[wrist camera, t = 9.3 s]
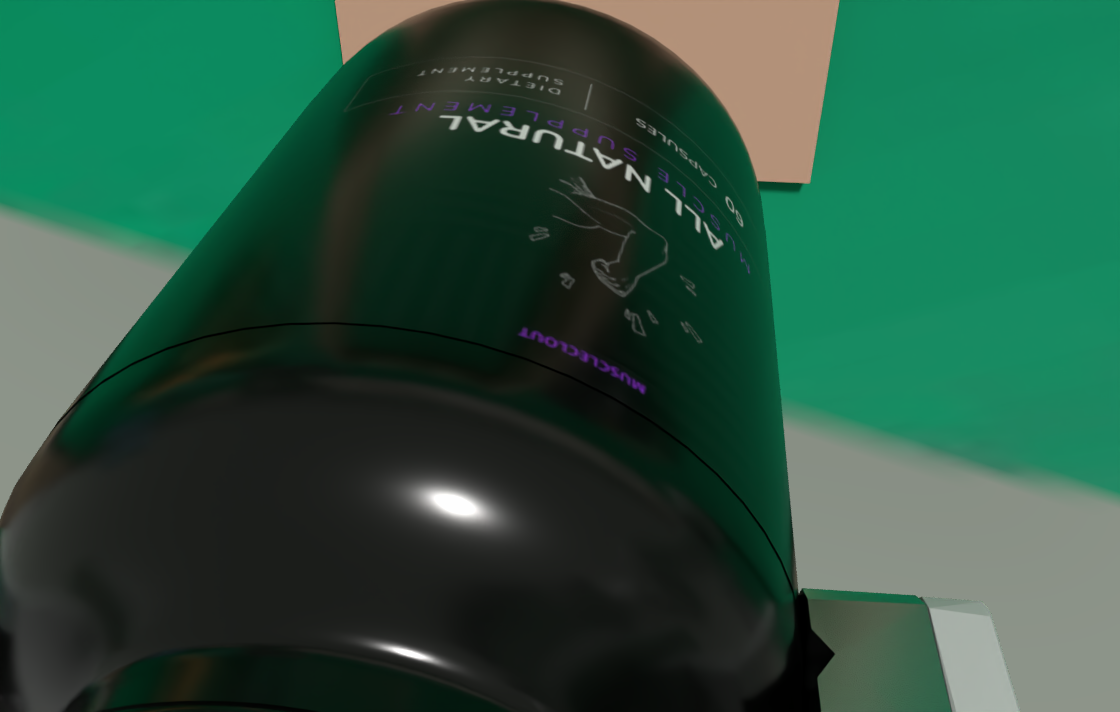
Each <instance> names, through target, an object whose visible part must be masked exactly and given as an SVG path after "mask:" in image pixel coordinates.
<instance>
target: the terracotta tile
mask: <svg viewBox="0 0 1120 712" xmlns="http://www.w3.org/2000/svg"><path fill="white" fill-rule="evenodd" d="M459 1H464V0H335V4H336V12H337V20H338V27H339V35H340V42H341V50H342V58H343V65H344V64H345V63H346V62H347V61H348V60H349V59H350V58H351V57H353V56H354V55H355V54H356V53H357V52H358V51H359V50H361V49H362V48H363V47H364V46H365V45H366V44H368V43H369V42H370V41H372V40H373V39H374V38H376V37H377V36H379V35H380V34H382V33H383V32H385V31H386V30H387V29H389V28H391V27H393V26H395V25H397V24H398V23H400V22H402V21H404V20H406V19H408V18H410V17H412V16H415V15H417V14H420V13H422V12H425V11H427V10H430V9H433V8H436V7H440V6H443V5H447V4H450V3H454V2H459ZM560 1H564V2H569V3H573V4H577V5H581V6H585V7H588V8H591V9H594V10H597V11H600V12H603V13H606V14H608V15H611V16H613V17H615V18H617V19H619V20H622V21H624V22H626V23H628V24H630V25H632V26H634V27H636V28H638V29H639V30H641V31H643V32H644V33H646V34H648V35H650V36H651V37H653V38H654V39H656V40H657V41H659V42H660V43H661V44H663V45H664V46H666V47H667V48H668V49H670V50H671V51H673V52H674V53H675V54H676V55H677V56H679V57H680V58H681V59H682V60H683V61H684V62H685V63H687V64H688V65H689V66H690V67H691V68H692V69H693V70H694V71H695V72H696V73H697V74H698V75H699V76H700V77H701V78H702V79H703V80H704V81H705V82H706V83H707V85H708V86H709V87H710V88H711V89H712V90H713V92H714V93H715V94H716V96H717V97H718V98H719V100H720V101H721V102H722V104H723V105H724V106H725V108H726V109H727V111H728V113H729V114H730V116H731V118H732V119H733V121H734V123H735V124H736V126H737V128H738V130H739V132H740V134H741V136H742V139H743V141H744V143H745V145H746V147H747V150H748V153H749V156H750V158H751V161H752V164H753V167H754V170H755V174H756V177H757V181H768V182H790V183H810V179H811V173H812V166H813V160H814V154H815V148H816V142H817V136H818V129H819V123H820V117H821V111H822V105H823V98H824V92H825V86H826V80H827V74H828V68H829V61H830V55H831V49H832V43H833V37H834V31H835V24H836V18H837V12H838V6H839V0H560Z"/></svg>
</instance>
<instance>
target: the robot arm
mask: <svg viewBox="0 0 1120 712" xmlns="http://www.w3.org/2000/svg"><path fill="white" fill-rule="evenodd" d="M799 605H800V614H799V617H800V616H801V622H800V630H801V628H802V632H801V643H802V641H803V645H802V657H803V695H802V712H1021V711H1020V708H1019V704H1018V701H1017V698H1016V694H1015V691H1014V688H1013V684H1012V681H1011V678H1010V675H1009V671H1008V668H1007V665H1006V662H1005V658H1004V655H1003V651H1002V648H1001V645H1000V641H999V638H998V635H997V632H996V628H995V625H994V622H993V619H992V616H991V612H990V611H989V609H988V608H987V607H986V606H985V605H984V603H983V602H982V601H971V600H957V599H943V598H930V597H920V598H918V597H917V596H915V595H899V594H884V593H868V592H852V591H837V590H821V589H820V590H819V589H805V588H803V589H802V590H801V591H800V593H799ZM0 712H8V710H7V707H6V705H5V702H4V699H3V697H2V694H1V692H0Z"/></svg>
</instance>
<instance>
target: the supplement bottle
mask: <svg viewBox="0 0 1120 712" xmlns="http://www.w3.org/2000/svg"><path fill="white" fill-rule="evenodd" d="M799 614H800V605H799V593H798V582H797V571H796V561H795V549H794V538H793V528H792V516H791V505H790V494H789V483H788V472H787V461H786V451H785V439H784V428H783V417H782V406H781V395H780V384H779V373H778V362H777V351H776V340H775V329H774V318H773V307H772V296H771V285H770V274H769V263H768V252H767V242H766V232H765V226H764V218H763V209H762V201H761V196H760V191H759V187H758V182H757V177H756V174H755V170H754V167H753V164H752V161H751V158H750V156H749V153H748V150H747V147H746V145H745V143H744V141H743V139H742V136H741V134H740V132H739V130H738V128H737V126H736V124H735V123H734V121H733V119H732V118H731V116H730V114H729V113H728V111H727V109H726V108H725V106H724V105H723V104H722V102H721V101H720V100H719V98H718V97H717V96H716V94H715V93H714V92H713V90H712V89H711V88H710V87H709V86H708V85H707V83H706V82H705V81H704V80H703V79H702V78H701V77H700V76H699V75H698V74H697V73H696V72H695V71H694V70H693V69H692V68H691V67H690V66H689V65H688V64H687V63H685V62H684V61H683V60H682V59H681V58H680V57H679V56H677V55H676V54H675V53H674V52H673V51H671V50H670V49H668V48H667V47H666V46H664V45H663V44H661V43H660V42H659V41H657V40H656V39H654V38H653V37H651V36H650V35H648V34H646V33H644V32H643V31H641V30H639V29H638V28H636V27H634V26H632V25H630V24H628V23H626V22H624V21H622V20H619V19H617V18H615V17H613V16H611V15H608V14H606V13H603V12H600V11H597V10H594V9H591V8H588V7H585V6H581V5H577V4H573V3H569V2H564V1H560V0H464V1H459V2H454V3H450V4H447V5H443V6H440V7H436V8H433V9H430V10H427V11H425V12H422V13H420V14H417V15H415V16H412V17H410V18H408V19H406V20H404V21H402V22H400V23H398V24H397V25H395V26H393V27H391V28H389V29H387V30H386V31H385V32H383V33H382V34H380V35H379V36H377V37H376V38H374V39H373V40H372V41H370V42H369V43H368V44H366V45H365V46H364V47H363V48H362V49H361V50H359V51H358V52H357V53H356V54H355V55H354V56H353V57H351V58H350V59H349V60H348V61H347V62H346V63H345V64H344V65H343V66H342V67H341V68H340V69H339V70H338V72H337V73H336V74H335V75H334V76H333V77H332V78H331V79H330V81H329V82H328V83H327V84H326V85H325V86H324V88H323V89H322V90H321V91H320V92H319V94H318V95H317V96H316V97H315V98H314V99H313V100H312V101H311V102H310V104H309V105H308V106H307V107H306V109H305V110H304V111H303V112H302V114H301V115H300V116H299V117H298V119H297V120H296V121H295V122H294V124H293V125H292V126H291V128H290V129H289V130H288V131H287V133H286V134H285V135H284V136H283V138H282V139H281V140H280V141H279V143H278V144H277V145H276V146H275V148H274V149H273V150H272V152H271V153H270V154H269V155H268V157H267V158H266V159H265V160H264V162H263V163H262V164H261V165H260V167H259V168H258V169H257V170H256V172H255V173H254V174H253V175H252V177H251V178H250V179H249V181H248V182H247V183H246V184H245V186H244V187H243V188H242V189H241V191H240V192H239V193H238V194H237V196H236V197H235V198H234V199H233V201H232V202H231V203H230V205H229V206H228V207H227V208H226V210H225V211H224V212H223V213H222V215H221V216H220V217H219V218H218V220H217V221H216V222H215V223H214V225H213V226H212V227H211V228H210V230H209V231H208V232H207V234H206V235H205V236H204V237H203V239H202V240H201V241H200V242H199V244H198V245H197V246H196V247H195V249H194V250H193V251H192V252H191V254H190V255H189V256H188V258H187V259H186V260H185V261H184V263H183V264H182V265H181V266H180V268H179V269H178V270H177V271H176V273H175V274H174V275H173V276H172V278H171V279H170V280H169V281H168V283H167V284H166V285H165V287H164V288H163V289H162V291H161V292H160V293H159V294H158V296H157V297H156V298H155V299H154V300H153V302H152V303H151V304H150V306H149V307H148V308H147V309H146V311H145V312H144V313H143V314H142V316H141V317H140V318H139V319H138V321H137V322H136V323H135V325H134V326H133V327H132V328H131V329H130V331H129V332H128V333H127V334H126V336H125V337H124V338H123V340H122V341H121V342H120V343H119V345H118V346H117V347H116V348H115V350H114V351H113V352H112V353H111V355H110V356H109V358H107V360H106V361H105V362H104V364H103V365H102V366H101V368H100V369H99V370H98V371H97V373H96V374H95V375H94V376H93V377H92V379H91V380H90V381H89V383H88V384H87V385H86V386H85V388H84V389H83V391H81V393H80V394H79V395H78V396H77V398H76V399H75V400H74V402H73V403H72V404H71V405H70V407H69V408H68V409H67V411H66V412H65V413H64V414H63V416H62V417H61V418H60V420H59V421H58V422H57V424H56V425H55V427H54V428H53V430H52V431H51V433H50V434H49V436H48V437H47V439H46V440H45V441H44V443H43V444H42V446H41V447H40V449H39V450H38V452H37V453H36V455H35V456H34V457H33V459H32V460H31V462H30V463H29V465H28V466H27V468H26V470H25V471H24V473H23V474H22V476H21V477H20V479H19V480H18V482H17V483H16V485H15V487H14V489H13V491H12V493H11V495H10V498H9V500H8V502H7V504H6V506H5V508H4V511H3V513H2V516H1V519H0V692H1V694H2V697H3V699H4V702H5V705H6V707H7V710H8V712H802V695H803V657H802V645H803V641H802V643H801V632H802V628H801V630H800V622H801V616H800V617H799Z"/></svg>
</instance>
